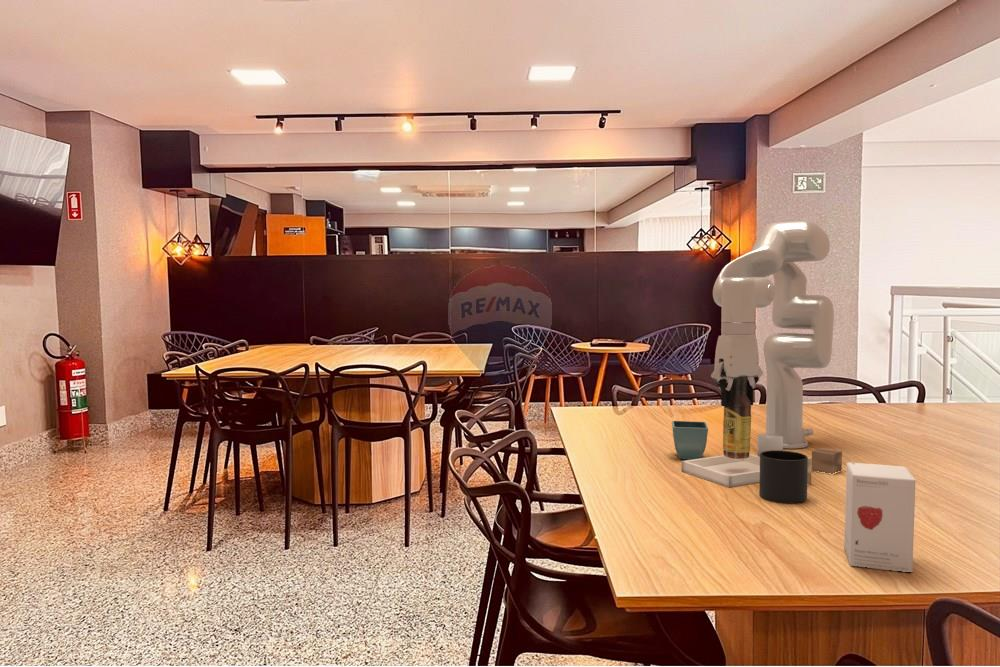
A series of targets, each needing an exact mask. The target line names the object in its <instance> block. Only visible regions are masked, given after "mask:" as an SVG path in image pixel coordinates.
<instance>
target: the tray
mask: <svg viewBox="0 0 1000 667" xmlns="http://www.w3.org/2000/svg"><path fill="white" fill-rule="evenodd" d="M680 462H681V468H680V469H681V472H683V473H685V474H689V475H691V476H694V477H697V478H699V479H702V480H706V481H709V482H711V483H714V484H718V485H720V486H723V487H726V488H735V487H738V486H739V487H740V486H746V485H750V484H758V483H760V457H759V456H757V455H755V454H751V453H749V457H748V458H743V459H736V458H735V459H733V458H729V457H726V456H724V454H721V455H715V456H708V457H707V456H706V457H701V458H700V459H685V460H681V461H680ZM757 482H758V483H757Z"/></svg>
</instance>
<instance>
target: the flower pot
mask: <svg viewBox="0 0 1000 667" xmlns="http://www.w3.org/2000/svg"><path fill="white" fill-rule="evenodd" d="M671 425H672V426H671V427H672V435H673V436H672V437H673V443H674V444H673V445H674V449H675V451H676V455H677V456H678V458H679V459H681V460H693V459H700V458H703V457H702V456H704V453H705V451H706V447H707V441H708V433H709V427H708V424H707V422H706V421H689V420H671Z"/></svg>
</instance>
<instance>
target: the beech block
mask: <svg viewBox="0 0 1000 667" xmlns="http://www.w3.org/2000/svg"><path fill="white" fill-rule="evenodd" d="M807 457H808V477H807V484H811V485H812V457H809V456H807Z"/></svg>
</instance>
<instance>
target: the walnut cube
mask: <svg viewBox="0 0 1000 667" xmlns="http://www.w3.org/2000/svg"><path fill="white" fill-rule="evenodd" d="M811 458H812V465H811V471H812V470H813V471H812V472H814V471H819V472H825V473H831V474H833V473H835V472H838V471H841V470H842V469H843V451H842V450H835V449H830V448H825V447H824V448H823V447H820V448H818V449H817V448H816V449H813V450H812V451H811ZM842 471H843V470H842ZM842 471H841V472H842ZM819 472H818V473H819Z"/></svg>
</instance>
